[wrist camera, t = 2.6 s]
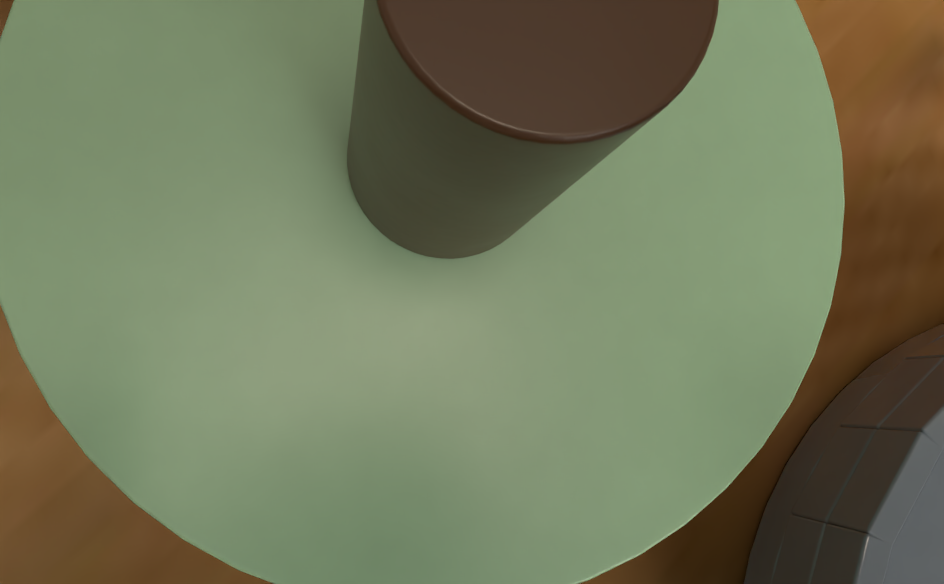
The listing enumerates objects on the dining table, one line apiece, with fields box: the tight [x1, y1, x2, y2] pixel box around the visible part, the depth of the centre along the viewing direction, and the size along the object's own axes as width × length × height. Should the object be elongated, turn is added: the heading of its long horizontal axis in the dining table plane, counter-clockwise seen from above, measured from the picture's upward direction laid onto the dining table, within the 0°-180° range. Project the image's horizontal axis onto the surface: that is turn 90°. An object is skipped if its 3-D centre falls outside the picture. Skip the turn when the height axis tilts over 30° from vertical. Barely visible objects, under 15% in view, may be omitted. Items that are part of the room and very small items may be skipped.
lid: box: [0, 0, 845, 584], centre depth 10 cm, size 12×12×7 cm
